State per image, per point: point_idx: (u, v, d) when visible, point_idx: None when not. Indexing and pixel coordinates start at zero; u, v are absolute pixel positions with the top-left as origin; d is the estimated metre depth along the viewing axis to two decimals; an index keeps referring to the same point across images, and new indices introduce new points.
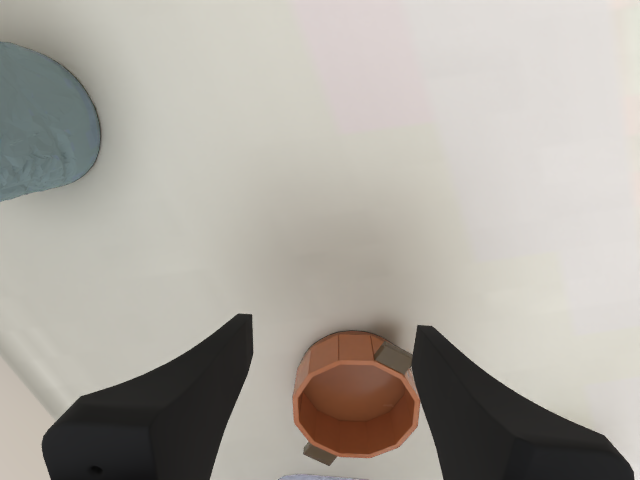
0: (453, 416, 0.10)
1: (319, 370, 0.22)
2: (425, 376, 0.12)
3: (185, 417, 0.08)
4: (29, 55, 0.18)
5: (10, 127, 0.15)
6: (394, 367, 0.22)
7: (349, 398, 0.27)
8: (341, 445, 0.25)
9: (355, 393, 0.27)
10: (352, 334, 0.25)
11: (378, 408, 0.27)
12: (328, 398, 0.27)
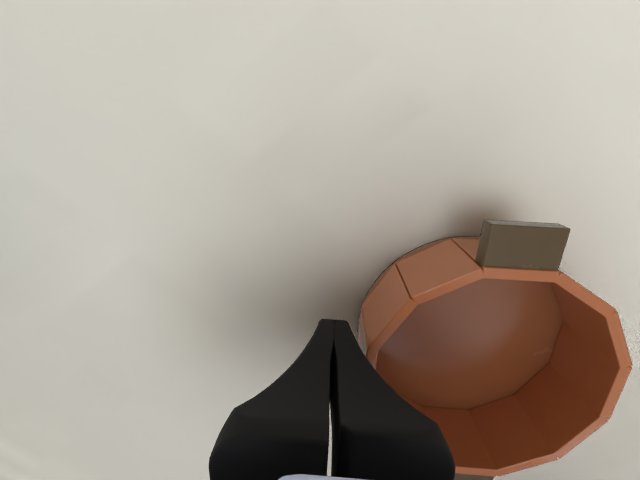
0: (335, 407, 0.10)
1: (384, 333, 0.11)
2: None
3: None
4: None
5: None
6: (530, 264, 0.10)
7: (467, 366, 0.15)
8: (492, 453, 0.14)
9: (473, 354, 0.15)
10: (419, 252, 0.13)
11: (526, 364, 0.15)
12: (431, 380, 0.15)
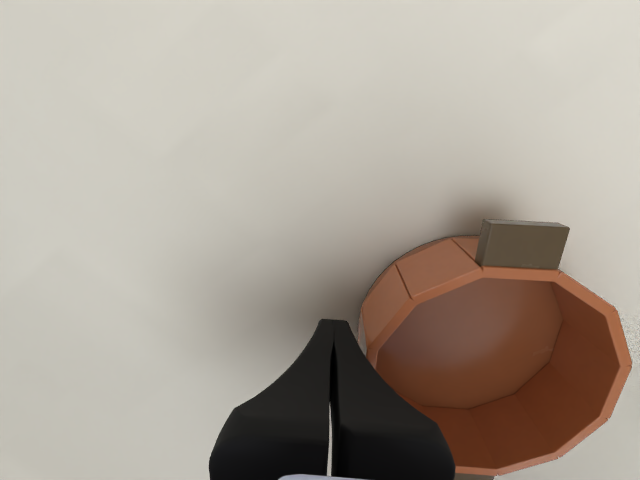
0: (335, 407, 0.10)
1: (384, 333, 0.11)
2: None
3: None
4: None
5: None
6: (530, 263, 0.10)
7: (467, 366, 0.15)
8: (492, 452, 0.14)
9: (473, 353, 0.15)
10: (418, 252, 0.13)
11: (526, 363, 0.15)
12: (432, 380, 0.15)
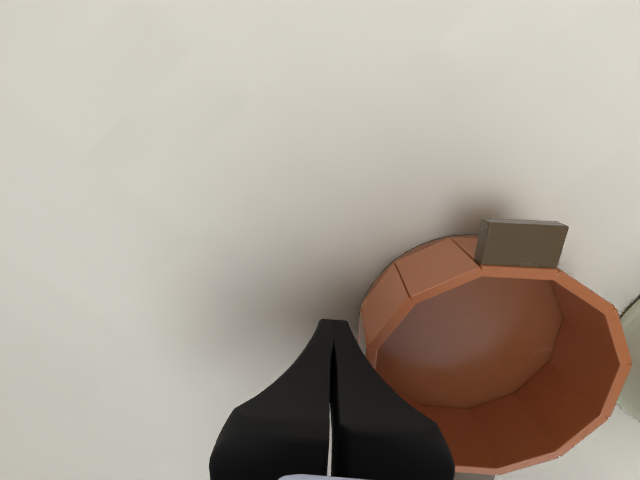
0: (335, 407, 0.10)
1: (383, 332, 0.11)
2: None
3: None
4: None
5: None
6: (529, 262, 0.10)
7: (467, 365, 0.15)
8: (493, 452, 0.13)
9: (473, 352, 0.15)
10: (418, 251, 0.13)
11: (526, 362, 0.15)
12: (432, 379, 0.15)
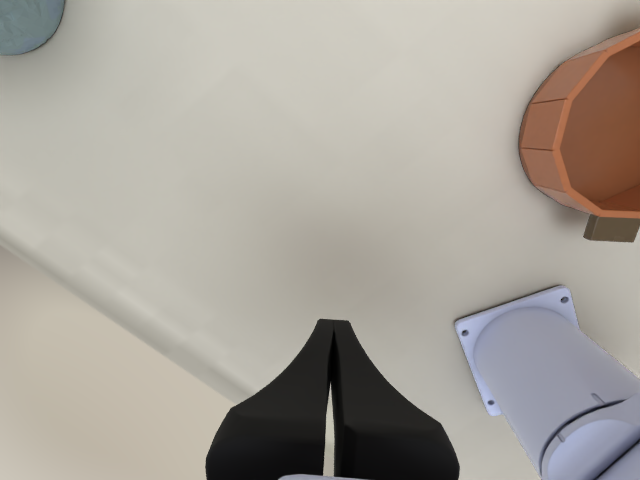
0: (338, 407, 0.10)
1: (580, 83, 0.15)
2: (333, 370, 0.12)
3: None
4: None
5: None
6: None
7: (606, 158, 0.19)
8: (637, 207, 0.18)
9: (613, 146, 0.19)
10: (582, 52, 0.17)
11: None
12: (576, 173, 0.20)
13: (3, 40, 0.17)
